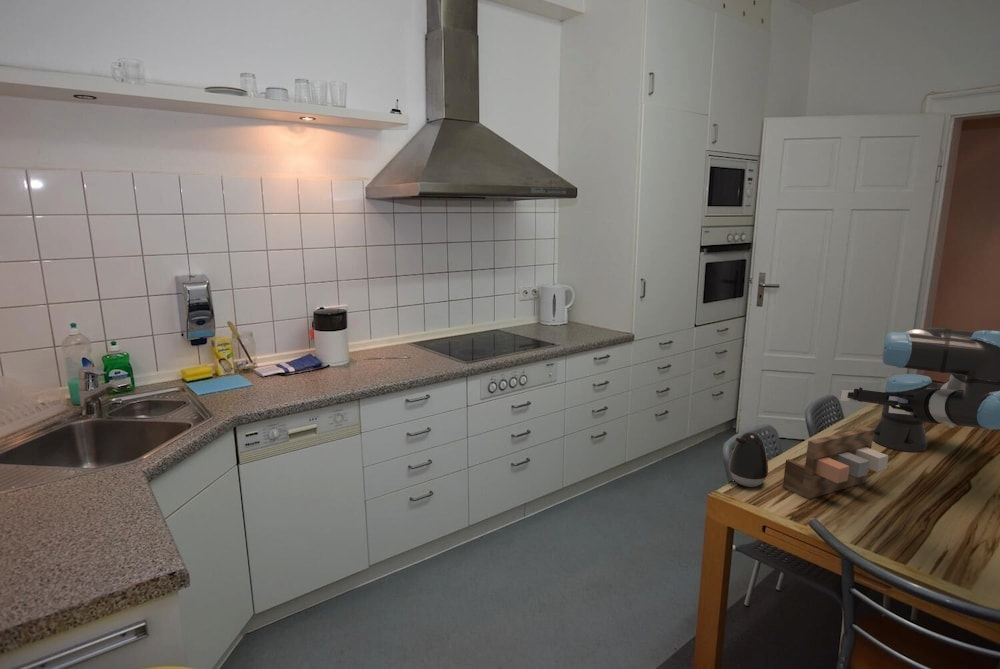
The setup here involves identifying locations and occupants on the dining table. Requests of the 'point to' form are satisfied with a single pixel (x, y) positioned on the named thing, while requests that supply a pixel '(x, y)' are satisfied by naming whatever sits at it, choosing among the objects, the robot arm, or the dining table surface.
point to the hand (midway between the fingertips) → (866, 401)
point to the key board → (804, 476)
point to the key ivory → (873, 458)
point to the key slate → (854, 463)
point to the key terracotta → (832, 469)
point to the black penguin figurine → (749, 460)
